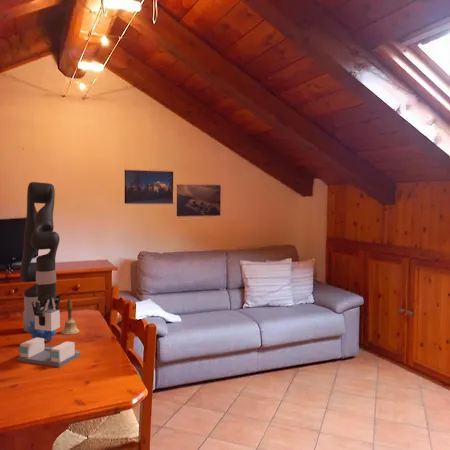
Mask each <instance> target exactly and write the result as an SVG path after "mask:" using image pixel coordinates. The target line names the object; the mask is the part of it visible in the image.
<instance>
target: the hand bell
mask: <svg viewBox="0 0 450 450" xmlns="http://www.w3.org/2000/svg"><path fill="white" fill-rule="evenodd" d="M66 311H67V320H65V323H64V328H63V330H61V332H60V333H61V335H64V336H70V335H76V334H78V333H80V329H78V328H77V325H76V321H75V320H74V319H73V315H72V312H73V302H72V300H71V299H67V302H66Z"/></svg>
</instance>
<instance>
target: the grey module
mask: <svg viewBox="0 0 450 450" xmlns="http://www.w3.org/2000/svg"><path fill="white" fill-rule="evenodd" d="M42 311H43V310H42ZM42 311H41V313H42ZM37 313H38V311H37ZM60 313H61V312H60V309H58V310H55V309H48V308H47V310H46V312H45V325H44V326H40V325H39V316H35V315H34V316H35V329H39V330H47V331H53V330H55V331H56V330H57V329H60V327H61V319H60V318H61V317H60V316H61V314H60Z"/></svg>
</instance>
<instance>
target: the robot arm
mask: <svg viewBox="0 0 450 450" xmlns="http://www.w3.org/2000/svg"><path fill="white" fill-rule="evenodd" d="M26 195H27V196H26V217H25V226H24V235H23V249H22V255H21V256H22V258H21V264H20V269H19V277H20V280H21V282H23V283H32V282H35V283H34V284H33V285H32V286H29V287H27V288H26V289H24V290H23V292H24V293H23V296H24V297H23V300H24V311H22V321H23V322H22V325H23V326H22V327H23V328H22V329H23V331H24V332H26V333H31V332H29V331H28V327H29V326H31V325H30V323H29V322H30V320H32V319H33V320H35V316H39V325H40V326H44V325H45V312H46V310H47V309H55V310H60V304H61V303H60V302H61V295H60V294H56V293H57V272H56V257H57V252H58V248H59V243H60V235H59V233H58V232H57V231H54V228H55V227H54V208H55V207H54V206H55V197H56V192H55V186H54V185H53V184H52V183H48V182H37V181H31V182H29V183H28V186H27V192H26ZM35 204H44V205H43V206H42V207H41V208H40V209H39V210H37V209H36V206H35ZM39 250H49V251H48V252H47V253H46V254H42V255H38V256H37V257H36V260H35V261H34V262H33V261H32V260H33V259H34V256H36V255H37V254H38V251H39ZM42 310H43V311H42ZM37 311H38V313H37ZM41 311H42V313H41ZM34 315H35V316H34Z"/></svg>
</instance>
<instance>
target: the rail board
mask: <svg viewBox="0 0 450 450" xmlns="http://www.w3.org/2000/svg"><path fill="white" fill-rule="evenodd" d="M75 346H76V345H75V342H74V341H73V342H72V341H68V340H67V341H64V342H62V343H60V344H58V345H56V346H52V345H47V344H46V345H45V341H44V338H37V337H36V338H34V339H33V338H32V339H29V340H27V341H24V342H22V343H20V344H19V346H18V353H19V354H20V355H19V356H17V362H23V363H28V364H35V365H43V366H48V367H56V368H61V367H63V366H64V365H66V364H69V363H70V362H71V361H74V360H76V359H77V358H79V357H81V350H80V349H76V347H75Z"/></svg>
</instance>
